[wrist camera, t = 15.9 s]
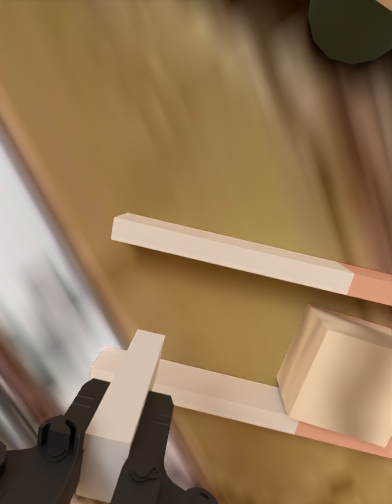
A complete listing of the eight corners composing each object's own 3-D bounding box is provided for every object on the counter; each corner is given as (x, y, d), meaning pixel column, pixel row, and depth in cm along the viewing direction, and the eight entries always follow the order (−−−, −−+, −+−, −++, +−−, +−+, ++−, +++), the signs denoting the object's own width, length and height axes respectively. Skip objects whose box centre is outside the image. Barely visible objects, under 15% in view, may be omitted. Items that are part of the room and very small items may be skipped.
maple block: (275, 375, 25) (288, 417, 20) (307, 301, 23) (327, 329, 19) (355, 400, 25) (385, 447, 20) (392, 328, 23) (433, 362, 19)
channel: (103, 360, 25) (88, 383, 22) (127, 212, 22) (114, 217, 19) (401, 433, 25) (425, 466, 22) (469, 292, 22) (508, 310, 19)
